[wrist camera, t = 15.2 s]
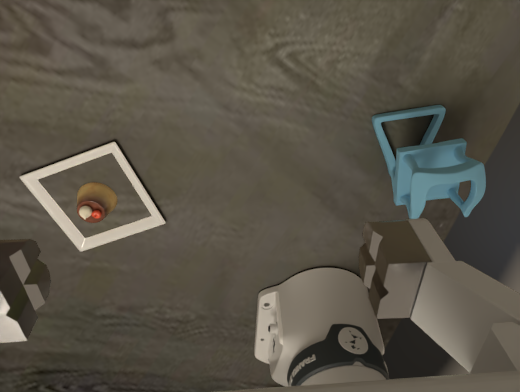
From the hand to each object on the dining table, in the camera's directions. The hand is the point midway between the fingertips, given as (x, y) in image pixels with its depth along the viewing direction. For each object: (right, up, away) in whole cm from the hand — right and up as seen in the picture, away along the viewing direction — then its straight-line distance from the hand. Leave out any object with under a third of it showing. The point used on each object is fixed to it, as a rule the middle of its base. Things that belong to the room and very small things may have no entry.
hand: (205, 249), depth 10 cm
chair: (+18, +7, +37) cm, 42 cm away
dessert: (-18, +1, +39) cm, 43 cm away
